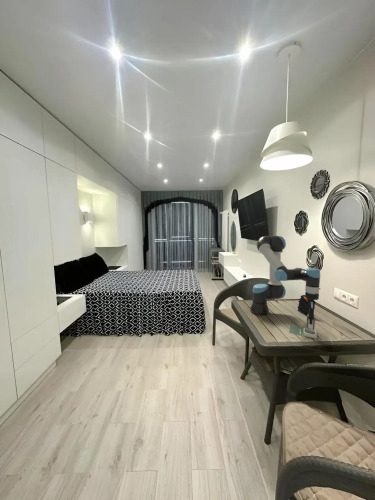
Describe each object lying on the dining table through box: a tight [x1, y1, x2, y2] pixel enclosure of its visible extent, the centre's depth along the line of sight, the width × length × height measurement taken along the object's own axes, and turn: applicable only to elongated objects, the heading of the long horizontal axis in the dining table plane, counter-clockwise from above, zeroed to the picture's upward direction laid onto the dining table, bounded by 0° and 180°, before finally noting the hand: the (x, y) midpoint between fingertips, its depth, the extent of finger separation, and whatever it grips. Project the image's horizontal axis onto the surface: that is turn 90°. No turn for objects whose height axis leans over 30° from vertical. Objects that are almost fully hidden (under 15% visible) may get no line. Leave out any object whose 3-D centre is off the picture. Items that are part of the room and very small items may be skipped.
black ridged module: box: [297, 294, 309, 316], centre depth 166 cm, size 4×13×15 cm, turn 10°
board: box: [288, 324, 318, 340], centre depth 136 cm, size 16×12×3 cm
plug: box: [305, 314, 316, 330], centre depth 131 cm, size 4×4×8 cm
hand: (310, 326), depth 131 cm, fingers closed on plug, 4 cm apart
